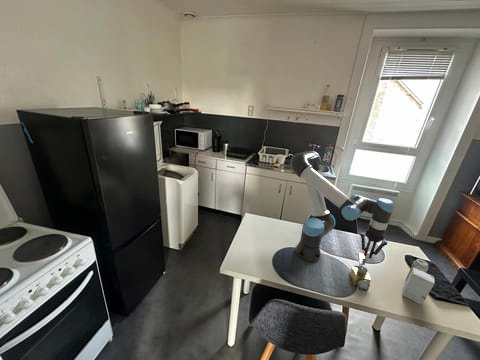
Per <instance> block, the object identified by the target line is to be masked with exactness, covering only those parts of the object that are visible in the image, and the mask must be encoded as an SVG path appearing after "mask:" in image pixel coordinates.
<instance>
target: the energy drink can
mask: <svg viewBox="0 0 480 360" xmlns="http://www.w3.org/2000/svg"><path fill="white" fill-rule="evenodd" d="M413 268H416V269H418V270H420V271H423V272H425V273H427V272H428V270H429V263H428V262H427V261H426V260H424V259H420V258H417V259H416V260H414V261H413V263H412V265H411V267H410V269H409V272H408V273H407V276H406V278H405V282H406V281H407V279H408V277H409V275H410V274H411V272H412V270H413Z"/></svg>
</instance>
